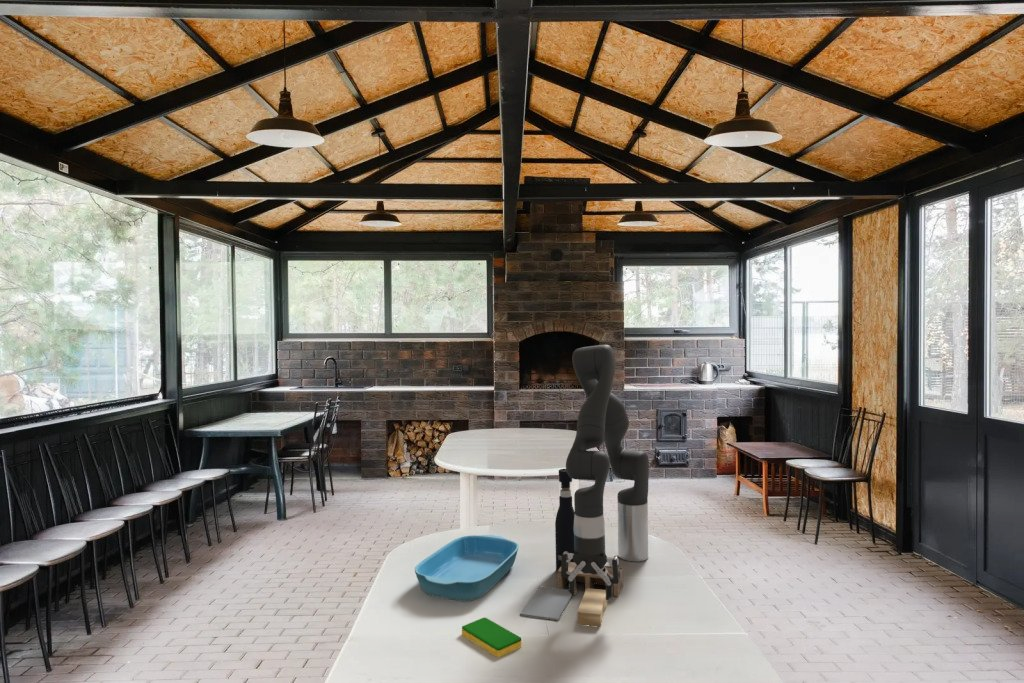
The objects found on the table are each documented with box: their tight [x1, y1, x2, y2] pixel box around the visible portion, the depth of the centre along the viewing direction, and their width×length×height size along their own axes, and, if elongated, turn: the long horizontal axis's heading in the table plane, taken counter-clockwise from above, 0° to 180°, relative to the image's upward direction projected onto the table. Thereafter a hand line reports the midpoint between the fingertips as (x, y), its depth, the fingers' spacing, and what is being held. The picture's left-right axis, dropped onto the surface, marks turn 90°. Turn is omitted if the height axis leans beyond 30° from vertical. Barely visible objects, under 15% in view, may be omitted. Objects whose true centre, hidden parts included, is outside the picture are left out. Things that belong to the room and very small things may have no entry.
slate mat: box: [519, 585, 573, 622], centre depth 162 cm, size 17×10×1 cm, turn 161°
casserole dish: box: [414, 534, 519, 602], centre depth 179 cm, size 37×22×7 cm, turn 157°
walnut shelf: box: [557, 562, 624, 598], centre depth 171 cm, size 7×17×5 cm, turn 71°
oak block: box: [577, 588, 608, 628], centre depth 157 cm, size 14×6×4 cm, turn 164°
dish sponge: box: [461, 617, 522, 658], centre depth 144 cm, size 7×14×2 cm, turn 40°
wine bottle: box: [554, 468, 575, 574], centre depth 183 cm, size 6×6×30 cm
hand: (590, 596), depth 153 cm, fingers open, 8 cm apart
